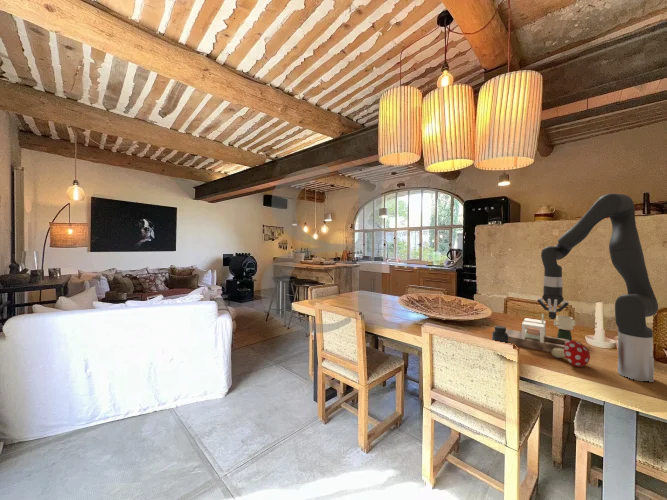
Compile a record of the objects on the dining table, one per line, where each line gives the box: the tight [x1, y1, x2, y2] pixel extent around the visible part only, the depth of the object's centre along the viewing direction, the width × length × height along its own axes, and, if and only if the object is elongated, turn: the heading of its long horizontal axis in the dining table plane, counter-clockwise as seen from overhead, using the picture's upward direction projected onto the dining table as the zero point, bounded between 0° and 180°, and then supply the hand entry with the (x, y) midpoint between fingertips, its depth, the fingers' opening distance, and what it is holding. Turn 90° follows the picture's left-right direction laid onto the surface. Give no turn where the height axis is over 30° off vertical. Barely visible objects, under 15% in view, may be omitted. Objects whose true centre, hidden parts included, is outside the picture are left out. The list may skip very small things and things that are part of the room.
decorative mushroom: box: [550, 339, 591, 368], centre depth 121 cm, size 11×11×15 cm
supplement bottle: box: [491, 324, 508, 343], centre depth 135 cm, size 7×7×12 cm
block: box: [527, 327, 540, 336], centre depth 142 cm, size 5×5×5 cm
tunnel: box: [521, 317, 547, 343], centre depth 142 cm, size 9×14×8 cm, turn 138°
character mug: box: [553, 314, 576, 341], centre depth 148 cm, size 11×7×13 cm, turn 85°
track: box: [506, 328, 569, 353], centre depth 142 cm, size 28×14×4 cm, turn 48°
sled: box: [525, 313, 545, 340], centre depth 142 cm, size 8×8×13 cm
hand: (552, 318), depth 137 cm, fingers closed
